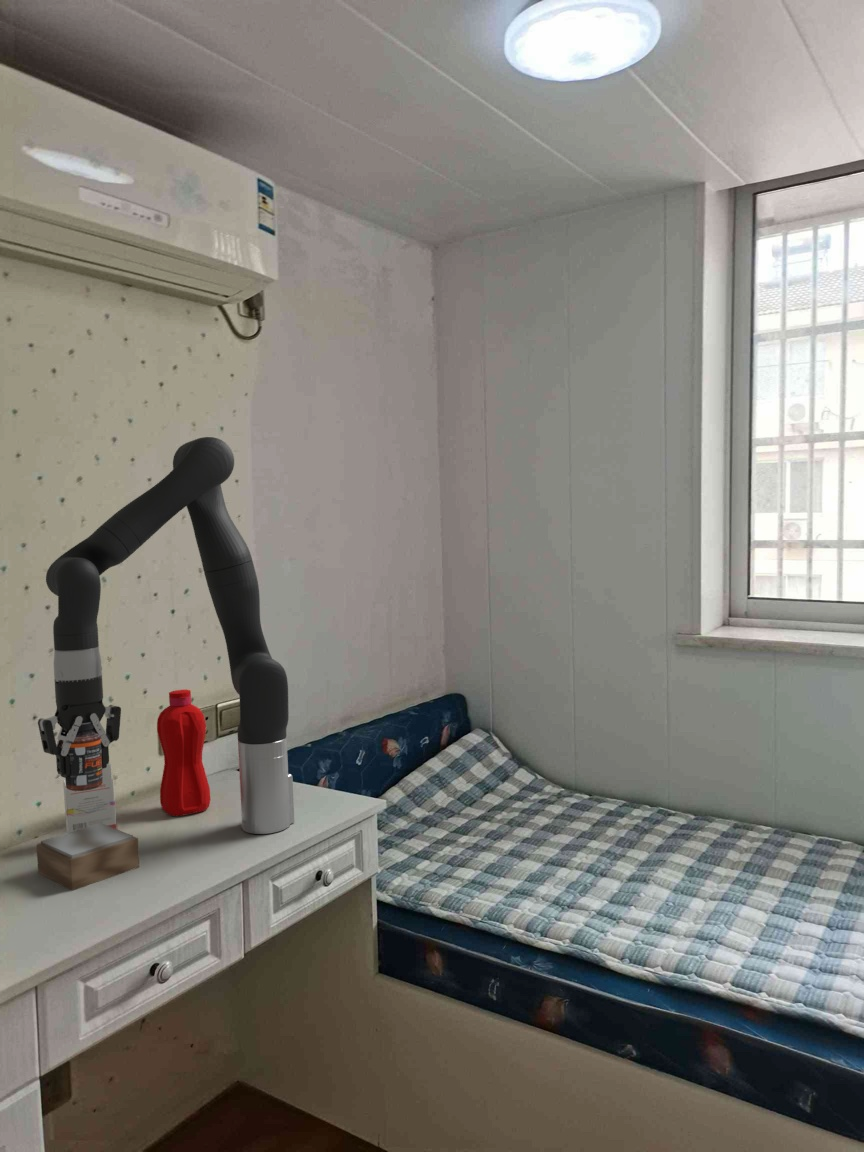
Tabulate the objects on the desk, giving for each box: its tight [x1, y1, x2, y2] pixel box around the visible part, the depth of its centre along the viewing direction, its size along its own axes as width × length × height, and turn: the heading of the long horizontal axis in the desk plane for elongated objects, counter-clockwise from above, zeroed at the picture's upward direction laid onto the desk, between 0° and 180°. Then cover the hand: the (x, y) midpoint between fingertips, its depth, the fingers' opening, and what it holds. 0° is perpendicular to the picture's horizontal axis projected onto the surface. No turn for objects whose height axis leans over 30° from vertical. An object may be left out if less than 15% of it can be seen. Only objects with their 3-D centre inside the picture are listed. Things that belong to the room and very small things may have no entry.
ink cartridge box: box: [62, 762, 118, 834], centre depth 166 cm, size 9×5×15 cm, turn 117°
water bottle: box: [156, 689, 211, 817], centre depth 182 cm, size 9×11×25 cm
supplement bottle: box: [64, 722, 103, 791], centre depth 150 cm, size 6×6×11 cm
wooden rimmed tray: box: [36, 823, 140, 891], centre depth 151 cm, size 12×12×6 cm
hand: (83, 771), depth 150 cm, fingers closed on supplement bottle, 6 cm apart
